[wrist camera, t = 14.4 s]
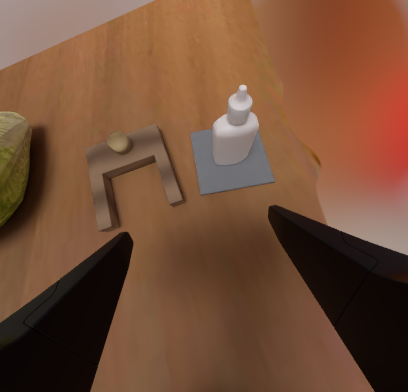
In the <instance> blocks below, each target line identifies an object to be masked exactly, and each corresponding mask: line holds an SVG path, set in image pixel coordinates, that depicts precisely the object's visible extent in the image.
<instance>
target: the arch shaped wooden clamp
mask: <svg viewBox="0 0 408 392" xmlns="http://www.w3.org/2000/svg"><path fill="white" fill-rule="evenodd" d="M85 150H86V156H87V162H88V168H89V175H90V181H91V187H92V194H93V200H94V206H95V212H96V219H97V225H98V231H103V232H109V231H111V230H114V229H117V228H119V227H120V225H119V220H118V215H117V210H116V205H115V200H114V195H113V190H112V185H111V180H110V178H113V177H116V176H118V175H121V174H124V173H126V172H129V171H132V170H135V169H137V168H140V167H143V166H146V165H148V164H151V163H154V162H157V166H158V169H159V172H160V175H161V178H162V181H163V185H164V188H165V191H166V194H167V197H168V201H169V204H170V205H171V206H173V207H175V206H177V205H180V204H183V203H185V202H184V199H183V196H182V193H181V190H180V187H179V184H178V181H177V178H176V176H175V173H174V170H173V167H172V164H171V161H170V158H169V155H168V152H167V150H166V147H165V144H164V141H163V138H162V135H161V132H160V130H159V128H158V126H157V124H156V123H155V124H152V125H150V126H147V127H144V128H141V129H138V130H135V131H133V132H130V133H127V134H124V133H122V132H114V133H112V134H111V135H110V136H109V137H108V139H107V141H104V142H102V143H99V144H96V145H93V146H90V147H87V148H85Z"/></svg>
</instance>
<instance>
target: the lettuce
mask: <svg viewBox="0 0 408 392" xmlns="http://www.w3.org/2000/svg"><path fill="white" fill-rule="evenodd" d="M31 135H32V125H31V123H30V122H29V121H28V120H27V119H25V118H24V117H22V116H21V115H19V114H17V113H14V112H0V226H2V225H3V224H4V223H5V222H6V221H7V220H8V219H9V218H10V216H11V215H12V214H13V213H14V212H15V210H16V209H17V207H18V206H19V205H20V203H21V202H22V200H23V198H24V194H25V190H26V186H27V182H28V175H29V167H30V141H31Z"/></svg>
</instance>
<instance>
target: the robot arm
mask: <svg viewBox="0 0 408 392" xmlns="http://www.w3.org/2000/svg"><path fill="white" fill-rule="evenodd" d="M268 219H269V222H270V224H271V226H272V228H273V230H274V232H275V234H276V236H277V238H278V240H279V242H280V243H281V245H282V247H283V248H284V250H285V251H286V253H287V254H288V256H289V258H290V259H291V261H292V262H293V264H294V265H295V267H296V269H297V270H298V272H299V273H300V275H301V276H302V278H303V280H304V281H305V283H306V284H307V286H308V287H309V289H310V291H311V292H312V294H313V295H314V297H315V298H316V300H317V301H318V303H319V305H320V306H321V308H322V309H323V311H324V312H325V314H326V316H327V317H328V319H329V320H330V322H331V323H332V325H333V326H334V328H335V330H336V332H337V333H338V335H339V336H340V338H341V339H342V341H343V343H344V344H345V346H346V347H347V349H348V350H349V352H350V354H351V355H352V357H353V358H354V360H355V361H356V363H357V365H358V366H359V368H360V369H361V371H362V372H363V374H364V376H365V377H366V379H367V380H368V382H369V383H370V385H371V387H372V388H373V390H374V391H375V392H408V255H405V254H402V253H399V252H396V251H393V250H391V249H388V248H384V247H382V246H379V245H376V244H373V243H370V242H368V241H365V240H362V239H360V238H357V237H354V236H352V235H349V234H347V233H345V232H342V231H339V230H337V229H335V228H332V227H330V226H327V225H325V224H322V223H320V222H317V221H315V220H312V219H310V218H307V217H305V216H302V215H300V214H297V213H295V212H292V211H290V210H287V209H285V208H282V207H280V206H277V205H273V206H269V210H268ZM132 249H133V240H132V238H131V236H130V235H129V233H128V232H122V233H119V234H118V235H117V236H115V237H114V238H113V239H112V240H110V241H109V242H108V243H106V244H105V245H104V246H102V247H101V248H100V249H99V250H97V251H96V252H95V253H93V254H92V255H91V256H89V257H88V258H87V259H86V260H84V261H83V262H82V263H80V264H79V265H78V266H76V267H75V268H74V269H73V270H71V271H70V272H69V273H67V274H66V275H65V276H63V277H62V278H61V279H60V280H58V281H57V282H56V283H54V284H53V285H52V286H50V287H49V288H48V289H46V290H45V291H44V292H42V293H41V294H40V295H38V296H37V297H36V298H34V299H33V300H32V301H30V302H29V303H27V304H26V305H25V306H23V307H22V308H21V309H19V310H18V311H16V312H15V313H14V314H12V315H11V316H9V317H8V318H6V319H5V320H4V321H2V322H1V323H0V392H90V390H91V387H92V384H93V381H94V378H95V374H96V371H97V368H98V364H99V361H100V358H101V355H102V352H103V348H104V345H105V342H106V339H107V336H108V332H109V329H110V326H111V323H112V319H113V316H114V313H115V310H116V307H117V303H118V300H119V297H120V294H121V291H122V287H123V284H124V281H125V278H126V275H127V271H128V268H129V264H130V259H131V254H132Z"/></svg>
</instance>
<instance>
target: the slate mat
mask: <svg viewBox="0 0 408 392" xmlns="http://www.w3.org/2000/svg"><path fill="white" fill-rule="evenodd" d="M190 134H191V140H192V146H193V151H194V157H195V163H196V169H197V175H198V181H199V187H200V193H201V195H206V194H212V193H217V192H223V191H229V190H234V189H240V188H245V187H251V186H256V185H262V184H268V183H273V182H275V180H274V177H273V174H272V171H271V168H270V165H269V162H268V159H267V156H266V152H265V149H264V146H263V143H262V140H261V137H260V134H259V131H257V133H256V136H255V138H254V141H253V143H252V146H251V148H250V151H249V153H248V155H247V157H246V158H245V159H244V160H242V161H241V162H239V163H236V164H233V165H217V164H216V163H215V162H214V158H213V129H209V130H203V131H198V132H193V133H190Z"/></svg>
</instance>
